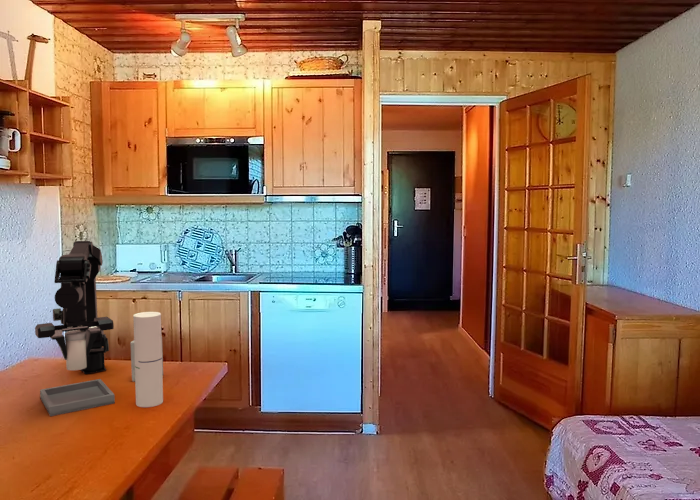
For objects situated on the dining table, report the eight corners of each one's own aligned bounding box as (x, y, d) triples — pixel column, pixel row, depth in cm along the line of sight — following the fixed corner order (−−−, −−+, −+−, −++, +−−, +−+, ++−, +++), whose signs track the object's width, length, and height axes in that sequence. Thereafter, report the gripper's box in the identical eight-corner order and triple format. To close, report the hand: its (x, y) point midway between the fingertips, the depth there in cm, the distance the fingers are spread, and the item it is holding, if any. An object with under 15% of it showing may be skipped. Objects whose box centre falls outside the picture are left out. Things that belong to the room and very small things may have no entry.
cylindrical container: (154, 408, 152) (151, 317, 149) (130, 406, 153) (127, 316, 151) (167, 398, 159) (165, 312, 156) (145, 396, 160) (142, 311, 158)
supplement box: (164, 374, 180) (163, 336, 178) (153, 382, 172) (152, 342, 171) (142, 374, 180) (141, 335, 179) (130, 381, 173) (129, 341, 172)
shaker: (84, 363, 158) (83, 329, 157) (89, 368, 153) (87, 333, 153) (64, 367, 154) (63, 332, 154) (68, 371, 150) (66, 335, 150)
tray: (100, 386, 168) (100, 378, 168) (114, 403, 155) (114, 394, 155) (40, 398, 158) (39, 389, 158) (50, 416, 146) (49, 407, 145)
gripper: (103, 294, 164) (105, 346, 166) (31, 300, 153) (33, 356, 155) (113, 299, 155) (114, 354, 157) (37, 307, 144) (39, 366, 146)
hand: (76, 357), depth 154 cm, fingers closed on shaker, 5 cm apart
